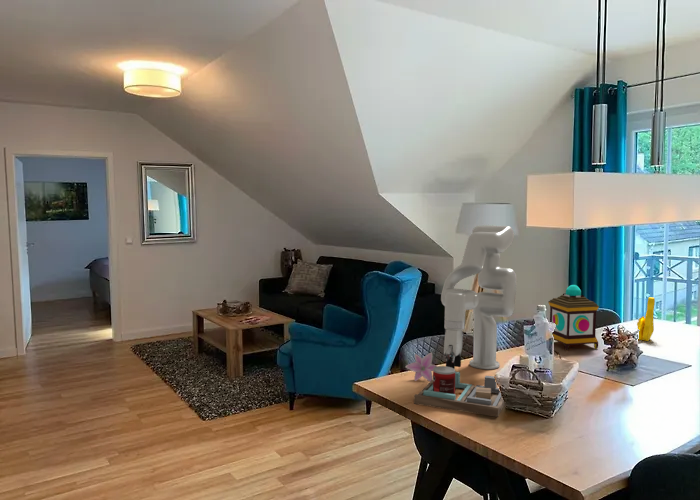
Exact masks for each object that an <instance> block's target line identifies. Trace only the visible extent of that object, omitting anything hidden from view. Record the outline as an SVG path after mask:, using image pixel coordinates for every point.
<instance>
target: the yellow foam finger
mask: <svg viewBox="0 0 700 500" xmlns="http://www.w3.org/2000/svg"><path fill="white" fill-rule="evenodd" d="M655 303H656V301H655V297H650V296H649V297H648V298H647V303H646V304H647V305H646V306H647V307H646V313H645V316H644V315H643V316H641V317H640V318H639V319H638V321H637V322H636V326H637V330H638V329H639V330H640V331H639V339H638V340H639V341H640V340H641V341H645V342H649V341H650V340H651V338H652V335H653V333H654V329H655V328H654V311H655Z"/></svg>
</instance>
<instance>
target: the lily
mask: <svg viewBox="0 0 700 500" xmlns="http://www.w3.org/2000/svg"><path fill="white" fill-rule="evenodd" d="M433 355H434V354H433V352H429V353H427V354H426V355H425V356H423V357H421V356H420V355H418V354H416V353H414V360H415V362H414V361H413V362H410V363H409V364H407V365H405V368H406V369H407V370H410V371H413V372H414V381H415V382H416V381H418V380H420V379H421V378H422V377H423V378H424V379H425V380H427V381H428V383H429V382H430V381H431V380H433V368H435V367H438V365H435V364H433Z"/></svg>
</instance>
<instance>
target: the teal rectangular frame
mask: <svg viewBox="0 0 700 500" xmlns="http://www.w3.org/2000/svg"><path fill="white" fill-rule="evenodd" d="M472 385H473V384H471V383H463V382H461V372H460V371H455V389H463V391H462V392H461V394H460V395H459V396H458V397H457V394H456V393H455V394H449V393H442V392H435V391H433V385H432V386H431V387H430V388H429V389H428V390H424V394H423V395H425V396H432V397H439V398H445V399H452V400H459V401H461V400H462V398H463V397H464V395H465V394H466V393H467V391H468V390H469V389H470V387H471V386H472ZM456 397H457V399H456Z"/></svg>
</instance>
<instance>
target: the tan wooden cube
mask: <svg viewBox="0 0 700 500" xmlns="http://www.w3.org/2000/svg"><path fill="white" fill-rule="evenodd" d="M475 387H476V386H475ZM475 397H477V398H484V399H490V400H492V392H491V388H480V387H476V396H475Z"/></svg>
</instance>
